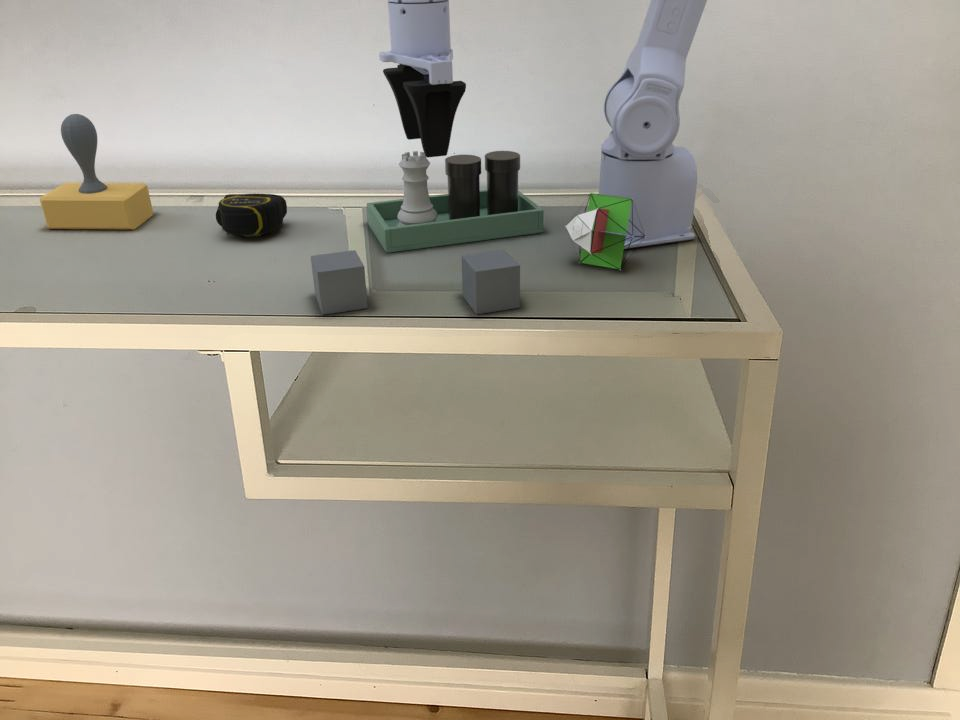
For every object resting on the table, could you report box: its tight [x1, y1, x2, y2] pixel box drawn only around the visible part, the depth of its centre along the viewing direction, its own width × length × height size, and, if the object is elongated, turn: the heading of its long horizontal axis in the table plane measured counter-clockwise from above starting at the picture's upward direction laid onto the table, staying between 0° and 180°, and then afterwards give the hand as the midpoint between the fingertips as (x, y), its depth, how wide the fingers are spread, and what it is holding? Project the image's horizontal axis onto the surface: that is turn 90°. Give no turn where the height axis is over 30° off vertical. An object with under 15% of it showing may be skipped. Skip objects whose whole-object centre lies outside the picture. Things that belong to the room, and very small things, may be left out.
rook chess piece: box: [397, 150, 438, 226], centre depth 85 cm, size 4×4×8 cm
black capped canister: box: [484, 150, 521, 215], centre depth 88 cm, size 4×4×7 cm
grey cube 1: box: [310, 249, 369, 316], centre depth 71 cm, size 4×4×4 cm
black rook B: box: [444, 154, 482, 220], centre depth 87 cm, size 4×4×7 cm
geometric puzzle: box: [564, 192, 646, 271], centre depth 78 cm, size 7×7×8 cm
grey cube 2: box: [461, 249, 521, 315], centre depth 71 cm, size 4×4×4 cm
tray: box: [366, 188, 545, 254], centre depth 88 cm, size 17×9×2 cm, turn 108°
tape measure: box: [215, 193, 288, 238], centre depth 88 cm, size 7×7×4 cm
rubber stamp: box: [39, 113, 154, 231], centre depth 90 cm, size 10×6×12 cm, turn 86°
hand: (426, 146), depth 82 cm, fingers open, 7 cm apart
